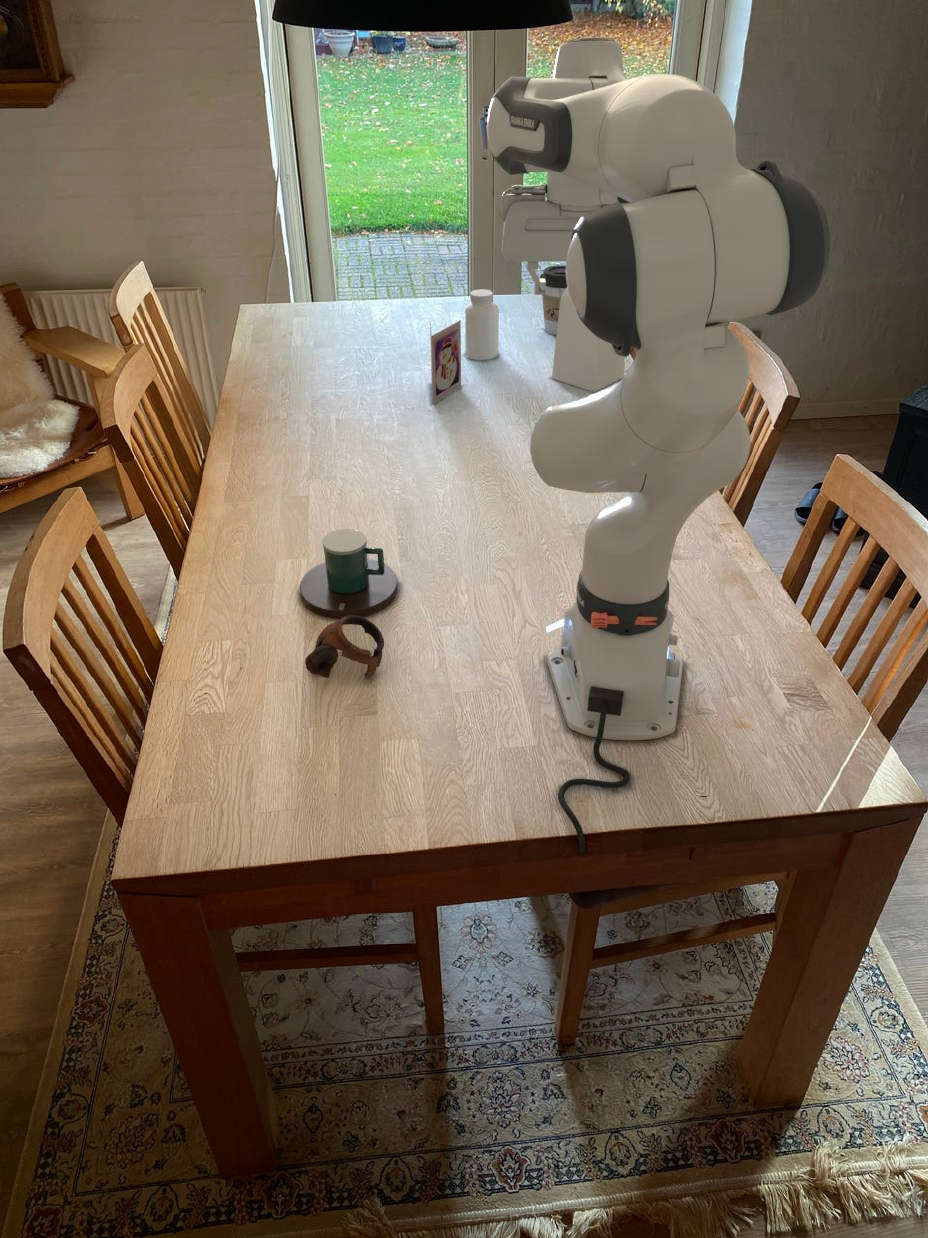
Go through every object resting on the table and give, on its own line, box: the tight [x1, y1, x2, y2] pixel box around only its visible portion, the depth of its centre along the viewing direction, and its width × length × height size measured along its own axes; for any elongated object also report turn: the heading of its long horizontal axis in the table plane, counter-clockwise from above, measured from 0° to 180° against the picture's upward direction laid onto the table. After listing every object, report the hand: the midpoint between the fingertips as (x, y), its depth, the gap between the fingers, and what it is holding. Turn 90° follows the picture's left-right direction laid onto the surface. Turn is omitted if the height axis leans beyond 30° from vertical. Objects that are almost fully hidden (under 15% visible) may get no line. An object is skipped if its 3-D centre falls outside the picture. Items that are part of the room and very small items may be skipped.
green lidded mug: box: [322, 528, 385, 594], centre depth 143 cm, size 7×9×8 cm
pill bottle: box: [464, 288, 500, 361], centre depth 222 cm, size 8×8×15 cm
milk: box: [551, 287, 626, 393], centre depth 207 cm, size 12×12×26 cm
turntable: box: [299, 557, 398, 620], centre depth 145 cm, size 15×15×2 cm
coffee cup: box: [539, 264, 567, 336], centre depth 235 cm, size 11×11×15 cm
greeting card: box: [429, 320, 462, 405], centre depth 204 cm, size 11×7×15 cm, turn 148°
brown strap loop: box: [304, 615, 385, 679], centre depth 129 cm, size 12×10×8 cm
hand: (574, 293), depth 128 cm, fingers open, 8 cm apart
